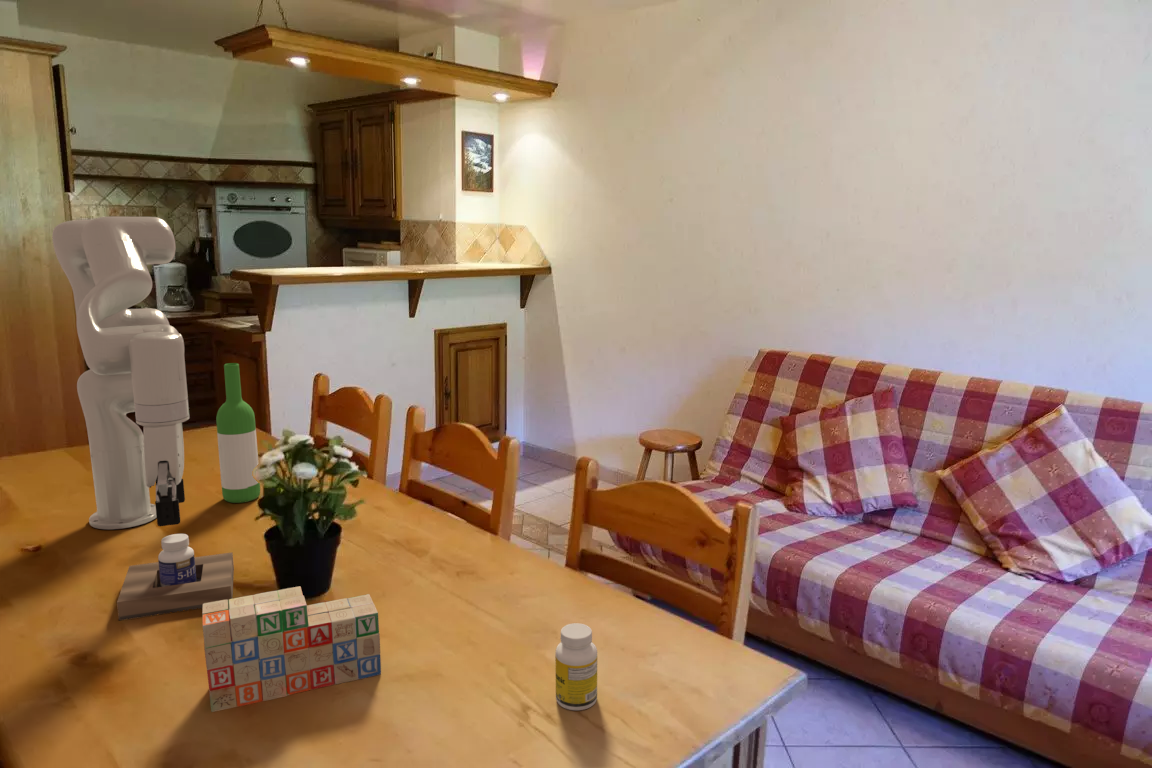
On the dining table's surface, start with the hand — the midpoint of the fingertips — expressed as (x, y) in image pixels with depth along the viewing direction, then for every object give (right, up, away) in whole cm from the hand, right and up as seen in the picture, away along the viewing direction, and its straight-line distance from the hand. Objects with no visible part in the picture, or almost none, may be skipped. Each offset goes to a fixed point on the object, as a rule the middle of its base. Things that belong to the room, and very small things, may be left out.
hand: (171, 513), depth 130 cm
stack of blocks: (+28, -19, -22) cm, 41 cm away
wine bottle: (-8, -4, +47) cm, 48 cm away
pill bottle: (0, -13, +3) cm, 13 cm away
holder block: (0, -13, +2) cm, 14 cm away
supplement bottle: (+65, -20, -26) cm, 73 cm away
